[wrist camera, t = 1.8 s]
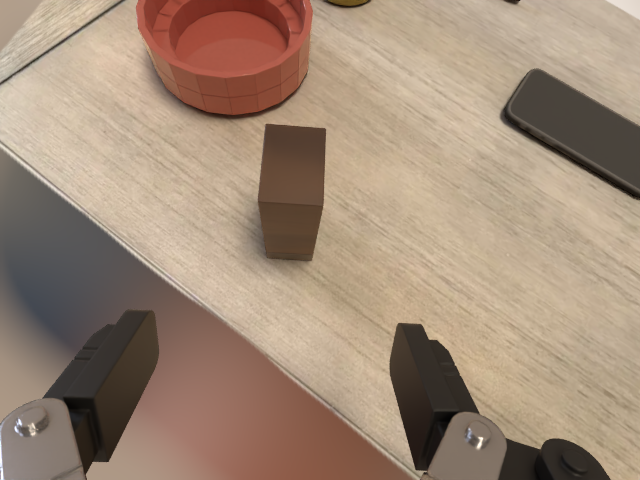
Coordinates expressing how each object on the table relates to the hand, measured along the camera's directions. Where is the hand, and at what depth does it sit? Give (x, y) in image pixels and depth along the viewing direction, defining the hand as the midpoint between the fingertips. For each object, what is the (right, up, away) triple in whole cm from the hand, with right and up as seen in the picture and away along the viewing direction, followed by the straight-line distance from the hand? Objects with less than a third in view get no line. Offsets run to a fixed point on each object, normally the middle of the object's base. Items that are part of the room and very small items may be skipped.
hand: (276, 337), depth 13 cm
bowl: (-7, +21, +23) cm, 32 cm away
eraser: (-1, +4, +18) cm, 18 cm away
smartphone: (+26, +13, +24) cm, 38 cm away
